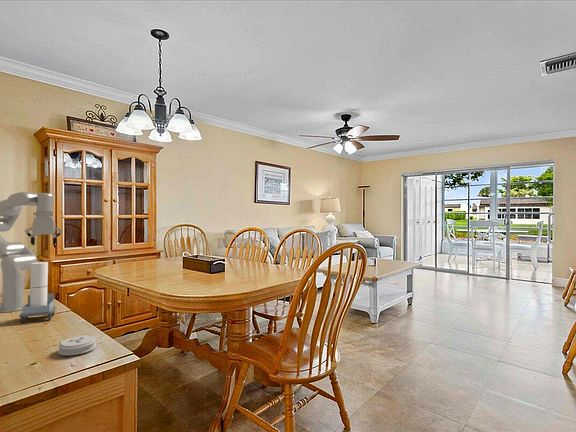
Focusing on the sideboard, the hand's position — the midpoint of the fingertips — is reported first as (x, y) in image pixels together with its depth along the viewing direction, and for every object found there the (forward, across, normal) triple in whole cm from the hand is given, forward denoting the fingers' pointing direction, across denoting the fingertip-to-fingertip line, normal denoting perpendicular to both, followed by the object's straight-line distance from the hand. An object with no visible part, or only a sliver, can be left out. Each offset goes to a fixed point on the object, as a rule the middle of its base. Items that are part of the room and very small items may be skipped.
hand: (43, 244), depth 180 cm
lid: (+39, +25, -72) cm, 86 cm away
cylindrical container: (+34, +1, -15) cm, 37 cm away
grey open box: (+38, +2, -16) cm, 41 cm away
